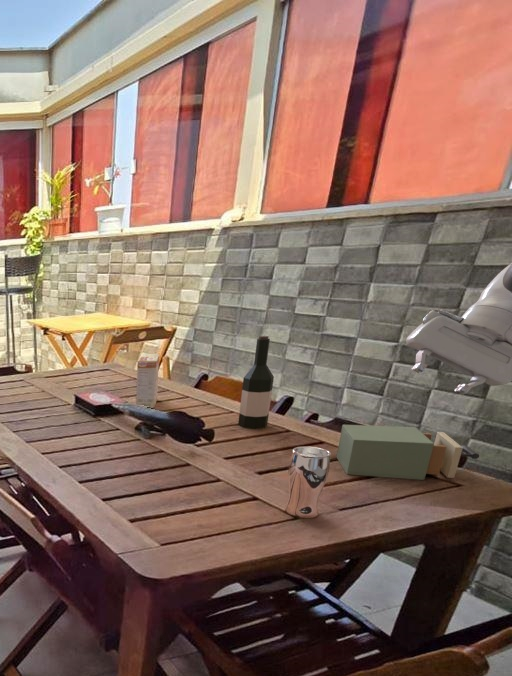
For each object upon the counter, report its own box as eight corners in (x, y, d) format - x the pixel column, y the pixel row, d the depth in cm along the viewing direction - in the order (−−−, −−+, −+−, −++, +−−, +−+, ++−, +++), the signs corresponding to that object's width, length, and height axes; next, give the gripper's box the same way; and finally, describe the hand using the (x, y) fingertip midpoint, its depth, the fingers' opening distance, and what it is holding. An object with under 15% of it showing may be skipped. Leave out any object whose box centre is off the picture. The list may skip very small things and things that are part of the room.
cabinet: (407, 461, 130) (415, 427, 126) (424, 480, 120) (434, 443, 116) (336, 457, 137) (342, 424, 134) (346, 474, 127) (353, 439, 124)
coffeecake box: (139, 398, 211) (141, 353, 205) (157, 399, 208) (160, 353, 201) (134, 408, 199) (136, 360, 193) (154, 408, 196) (156, 360, 189)
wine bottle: (240, 428, 165) (250, 339, 155) (236, 421, 172) (246, 335, 162) (269, 429, 162) (282, 337, 152) (264, 421, 169) (276, 333, 159)
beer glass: (311, 505, 114) (322, 445, 109) (326, 519, 108) (338, 457, 103) (277, 504, 116) (286, 446, 111) (289, 518, 110) (299, 457, 105)
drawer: (458, 462, 124) (466, 433, 122) (478, 479, 115) (488, 448, 113) (367, 456, 133) (373, 429, 130) (379, 472, 124) (385, 443, 121)
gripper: (444, 301, 108) (400, 356, 110) (546, 348, 103) (496, 404, 106) (424, 308, 114) (382, 360, 116) (519, 353, 109) (473, 405, 112)
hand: (437, 381), depth 111 cm, fingers open, 8 cm apart
